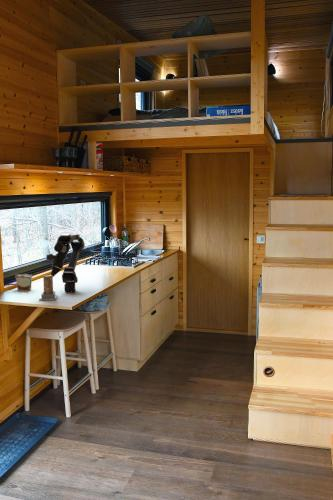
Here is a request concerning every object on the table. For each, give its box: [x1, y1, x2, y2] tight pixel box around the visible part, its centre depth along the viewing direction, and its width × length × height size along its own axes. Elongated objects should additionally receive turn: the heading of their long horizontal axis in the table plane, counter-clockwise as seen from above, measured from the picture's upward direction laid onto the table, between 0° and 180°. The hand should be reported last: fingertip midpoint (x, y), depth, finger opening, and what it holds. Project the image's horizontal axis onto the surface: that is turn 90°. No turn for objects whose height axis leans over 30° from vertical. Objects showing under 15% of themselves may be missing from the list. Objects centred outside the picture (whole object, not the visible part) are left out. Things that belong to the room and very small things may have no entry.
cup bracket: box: [38, 290, 59, 302], centre depth 305 cm, size 10×10×4 cm
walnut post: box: [42, 274, 54, 294], centre depth 304 cm, size 4×4×13 cm
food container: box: [14, 273, 34, 292], centre depth 330 cm, size 12×6×10 cm, turn 71°
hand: (51, 276), depth 311 cm, fingers open, 9 cm apart
